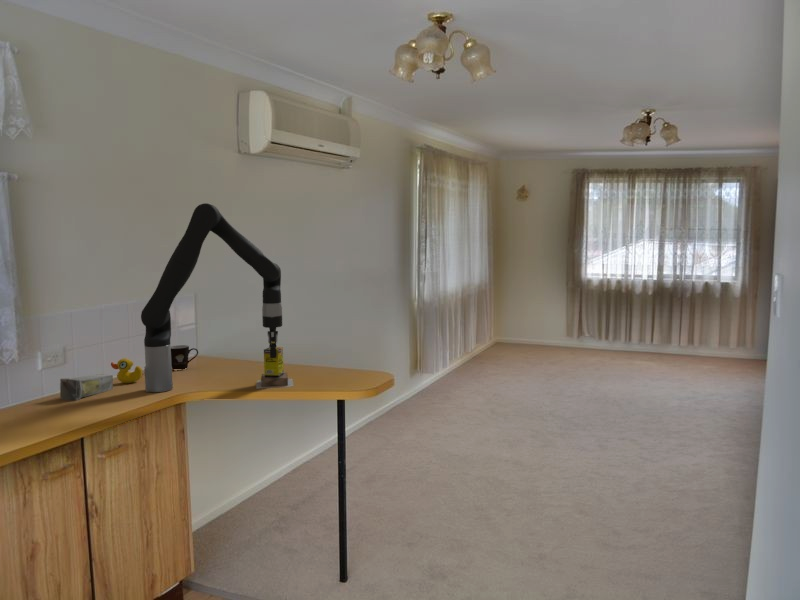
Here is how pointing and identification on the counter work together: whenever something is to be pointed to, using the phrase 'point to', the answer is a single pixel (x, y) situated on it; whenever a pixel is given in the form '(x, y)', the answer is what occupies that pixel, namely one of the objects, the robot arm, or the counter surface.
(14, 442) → the counter surface
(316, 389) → the counter surface
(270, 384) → the base block
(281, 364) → the supplement box
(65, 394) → the block
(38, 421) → the counter surface
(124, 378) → the duckling
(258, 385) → the pad
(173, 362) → the coffee mug
